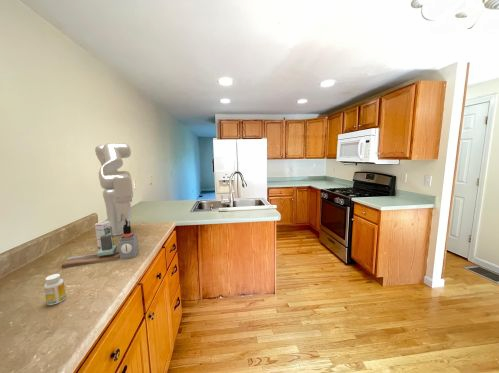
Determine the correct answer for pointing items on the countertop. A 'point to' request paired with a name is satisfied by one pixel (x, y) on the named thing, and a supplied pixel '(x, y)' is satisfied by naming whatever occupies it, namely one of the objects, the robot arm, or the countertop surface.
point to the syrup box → (103, 230)
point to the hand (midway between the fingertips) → (127, 233)
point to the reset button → (127, 235)
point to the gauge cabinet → (128, 246)
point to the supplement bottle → (54, 289)
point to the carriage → (106, 246)
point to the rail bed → (90, 259)
